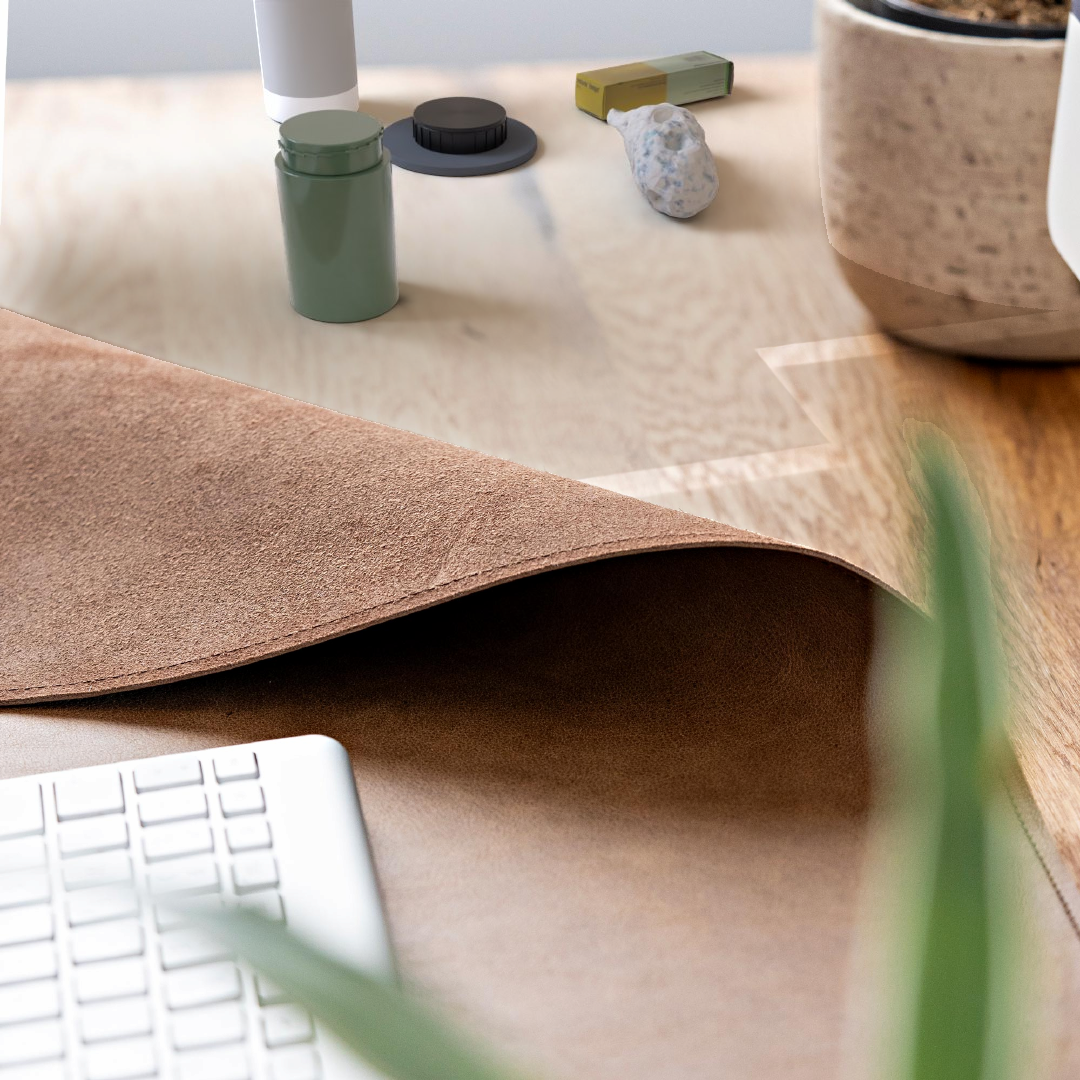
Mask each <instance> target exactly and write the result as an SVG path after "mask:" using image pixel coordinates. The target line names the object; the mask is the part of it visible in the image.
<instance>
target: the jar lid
mask: <svg viewBox="0 0 1080 1080" xmlns="http://www.w3.org/2000/svg"><path fill="white" fill-rule="evenodd" d="M412 113H413V114H412V116H413V119H412V121H413V138H415V142H417V144H419V145H420V146H421V147H423V148H425V149H428V150H430V151H434V152H438V153H445V154H476V153H481V152H486V151H490V150H492V149H495V148H497V147H499V146H501V145H502V144H503V143H504V142H505V140H506V139H507V117H508V115H507V111H506V108H505V107H504V106H503V105H502V104H500V103H498V102H495V101H492V100H489V99H485V98H480V97H474V96H447V97H440V98H435V99H430V100H428V101H425V102H422V103H420V104H419V105H417V106H416V107H415V108H414V110H413V112H412Z"/></svg>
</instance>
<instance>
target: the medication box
mask: <svg viewBox="0 0 1080 1080" xmlns="http://www.w3.org/2000/svg"><path fill="white" fill-rule="evenodd" d="M734 63H735V62H733V61H731V60H729V59H727V58H724V57H722V56H720V55H716V54H714V53H711V52H708V51H706V50H697V51H692V52H687V53H681V54H674V55H670V56H664V57H660V58H659V57H658V58H654V59H648V60H642V61H637V62H631V63H626V64H620V65H614V66H610V67H605V68H598V69H593V70H588V71H583V72H577V73H576V75H575V86H574V103H575V107H576V108H578V109H579V110H581V111H583V112H584V113H587V114H588V115H590V116H592V117H595V118H597V119H599V120H602V121H607V115H608V113H609V111H610V110H611V109H612V108H614V109H616V110H620V111H623V112H628V111H630V110H633V109H637V108H640V107H642V106H646V105H658V104H661V103H669V104H671V105H674V106H679V105H683V104H688V103H693V102H698V101H703V100H707V99H712V98H717V97H722V96H727V95H728V96H731V95H732V91H733V87H734V82H735V81H734V80H735V65H734Z"/></svg>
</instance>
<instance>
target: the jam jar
mask: <svg viewBox="0 0 1080 1080" xmlns="http://www.w3.org/2000/svg"><path fill="white" fill-rule="evenodd" d="M384 129H385V125H384V124H383V122H381V121H380V120H379V119H377V117H376V118H375V117H374V116H372V115H370V114H367V113H364V112H361V111H357V112H356V111H349V110H320V111H312V112H307V113H303V114H299V115H296V116H293V117H291V118H289V119H287V120H286V121H284V122H283V123H280V125H279V129H278V135H279V139H277V144H278V148H279V149H280V150H279V151H278V152H277V153H276V155H275V156H274V159H273V161H274V162H273V163H274V169H275V170H274V171H275V178H276V189H277V195H278V205H279V214H280V222H281V232H282V240H283V249H284V257H285V267H286V275H287V283H288V284H287V285H288V292H289V300H290V305H291V307H292V308H293V309H294V310H295V311H296V312H297V313H299V314H300V315H302V316H304V317H306V318H309V319H312V320H315V321H319V322H324V323H325V322H326V323H339V324H340V323H353V322H355V323H356V322H361V321H365V320H369V319H373V318H376V317H379V316H381V315H383V314H386V313H387V312H388V311H390V310H391V309H392V308H394V307H395V306H396V305H397V303H398V301H399V298H400V286H399V285H400V284H399V270H398V269H399V267H398V251H397V235H396V234H397V233H396V219H395V218H396V217H395V216H396V215H395V200H394V199H395V198H394V182H393V180H394V179H393V165H392V164H393V163H392V162H391V154H390V152H389V150H388V149H387V148H385V147H384V146H383V140H382V137H383V133H384Z"/></svg>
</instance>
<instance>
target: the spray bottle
mask: <svg viewBox="0 0 1080 1080" xmlns="http://www.w3.org/2000/svg"><path fill="white" fill-rule="evenodd" d="M252 1H253V10H254V18H255V19H254V20H255V28H256V36H257V45H258V54H259V62H260V71H261V80H262V87H263V89H262V90H263V98H264V107H265V111H266V114H267V116H268V117H269V118H270V119H272V120H273V121H274V122H278V123H280V124H282V123H283V122H284V121H286V120H287V119H289V118H291V117H293V116H296V115H299V114H303V113H307V112H312V111H320V110H349V111H356V112H359V109H360V94H359V82H358V66H357V51H356V38H355V24H354V11H353V9H354V8H353V0H252Z"/></svg>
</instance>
